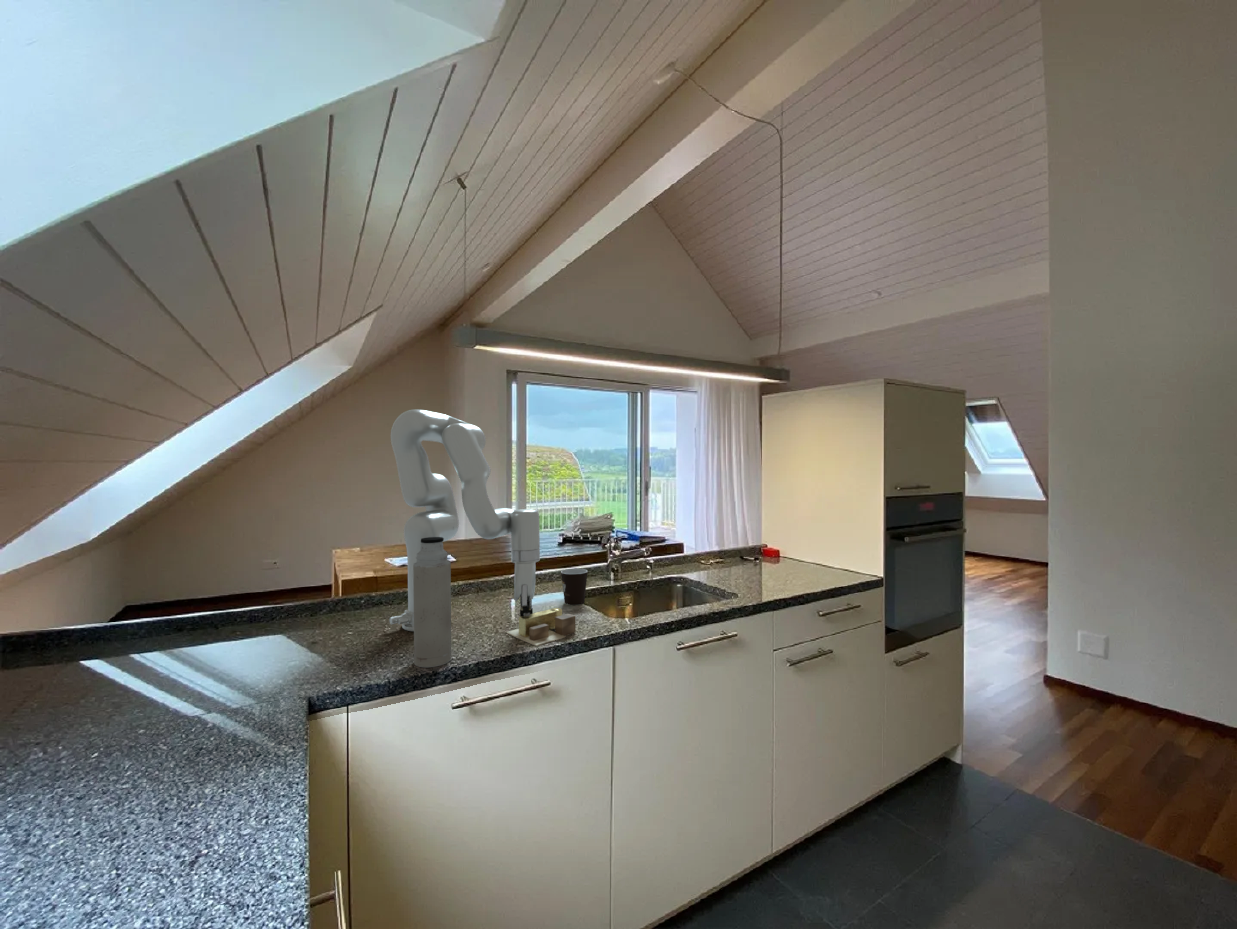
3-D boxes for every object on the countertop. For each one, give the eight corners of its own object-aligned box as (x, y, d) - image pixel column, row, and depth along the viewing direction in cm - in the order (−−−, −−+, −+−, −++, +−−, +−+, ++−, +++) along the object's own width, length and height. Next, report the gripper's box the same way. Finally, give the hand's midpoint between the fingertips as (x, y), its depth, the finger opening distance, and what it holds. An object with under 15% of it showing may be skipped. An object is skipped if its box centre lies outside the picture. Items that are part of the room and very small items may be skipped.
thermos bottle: (406, 663, 114) (405, 538, 114) (435, 652, 121) (434, 534, 121) (430, 670, 110) (429, 541, 110) (458, 658, 117) (457, 536, 117)
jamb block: (562, 636, 131) (562, 619, 131) (555, 633, 133) (555, 617, 133) (575, 632, 134) (575, 615, 134) (568, 630, 136) (568, 613, 136)
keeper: (533, 642, 127) (533, 629, 127) (529, 640, 128) (529, 627, 128) (548, 637, 130) (548, 625, 130) (544, 636, 132) (544, 623, 132)
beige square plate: (536, 646, 124) (536, 645, 124) (506, 633, 134) (506, 632, 134) (581, 632, 134) (581, 631, 134) (550, 621, 144) (550, 620, 144)
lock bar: (557, 623, 140) (557, 603, 140) (564, 625, 138) (564, 605, 138) (518, 634, 132) (518, 613, 132) (525, 636, 129) (525, 615, 129)
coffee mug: (586, 605, 160) (586, 574, 160) (559, 606, 160) (559, 574, 160) (589, 596, 171) (589, 566, 172) (564, 596, 172) (563, 567, 172)
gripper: (514, 551, 143) (515, 616, 143) (508, 561, 128) (509, 633, 128) (541, 550, 144) (542, 615, 144) (538, 560, 129) (539, 632, 129)
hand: (526, 624), depth 136 cm, fingers closed
